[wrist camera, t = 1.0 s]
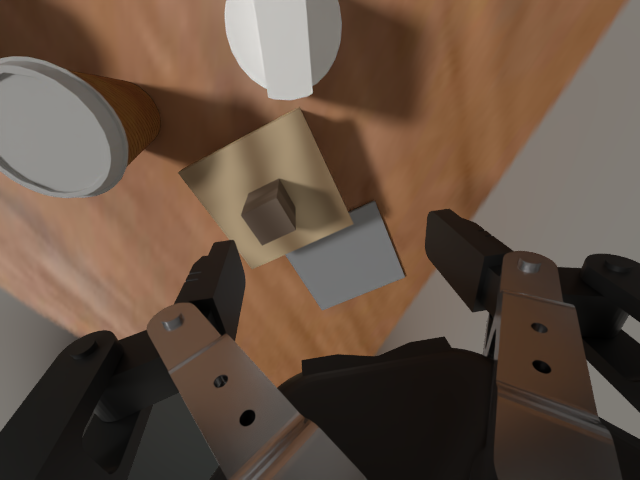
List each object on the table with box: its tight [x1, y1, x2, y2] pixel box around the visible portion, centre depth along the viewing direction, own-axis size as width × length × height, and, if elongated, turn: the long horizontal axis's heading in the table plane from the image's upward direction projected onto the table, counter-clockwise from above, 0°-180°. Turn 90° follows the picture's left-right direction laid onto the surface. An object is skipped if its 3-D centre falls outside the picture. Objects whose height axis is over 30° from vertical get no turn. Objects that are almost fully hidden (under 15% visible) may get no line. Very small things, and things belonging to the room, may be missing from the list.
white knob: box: [225, 0, 342, 100], centre depth 22 cm, size 9×9×12 cm
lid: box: [178, 107, 353, 269], centre depth 28 cm, size 13×13×6 cm
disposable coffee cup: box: [0, 56, 160, 198], centre depth 24 cm, size 10×10×12 cm
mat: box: [285, 201, 405, 310], centre depth 41 cm, size 14×14×1 cm
